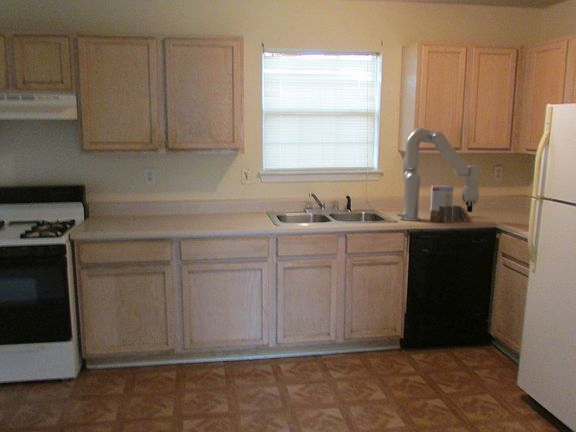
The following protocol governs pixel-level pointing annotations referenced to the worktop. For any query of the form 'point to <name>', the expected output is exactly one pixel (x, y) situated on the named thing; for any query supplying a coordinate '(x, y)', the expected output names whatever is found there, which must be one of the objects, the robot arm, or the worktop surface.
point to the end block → (434, 216)
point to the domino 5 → (466, 215)
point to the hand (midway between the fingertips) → (469, 211)
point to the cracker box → (441, 197)
